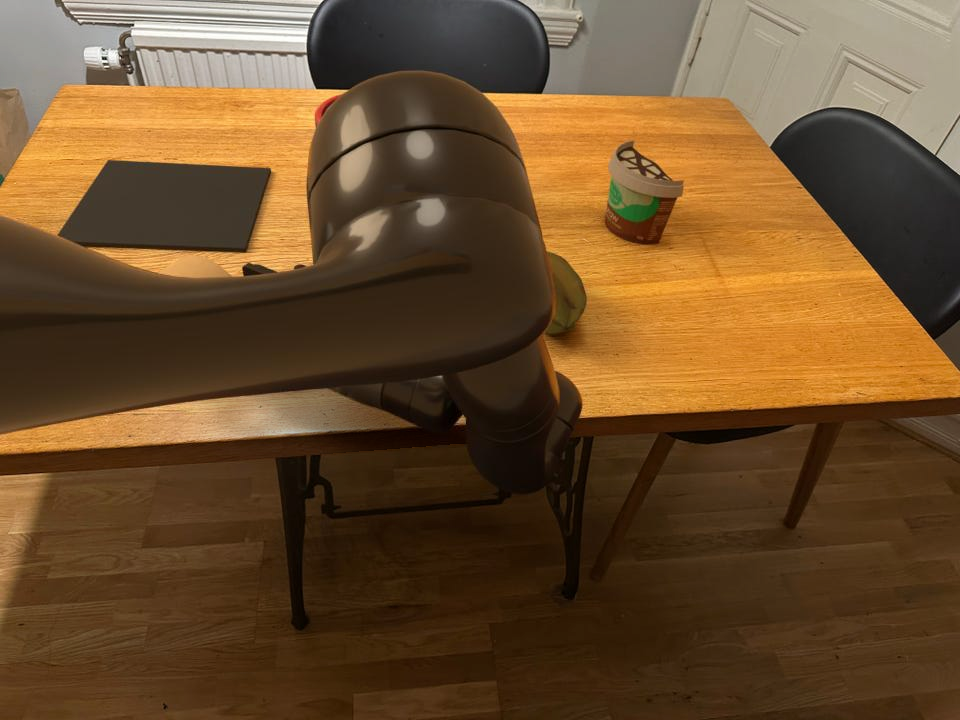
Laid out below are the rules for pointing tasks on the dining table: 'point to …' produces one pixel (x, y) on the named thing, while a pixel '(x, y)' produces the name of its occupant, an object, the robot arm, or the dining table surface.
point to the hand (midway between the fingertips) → (214, 294)
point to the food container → (639, 196)
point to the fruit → (566, 295)
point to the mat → (169, 207)
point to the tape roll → (195, 268)
